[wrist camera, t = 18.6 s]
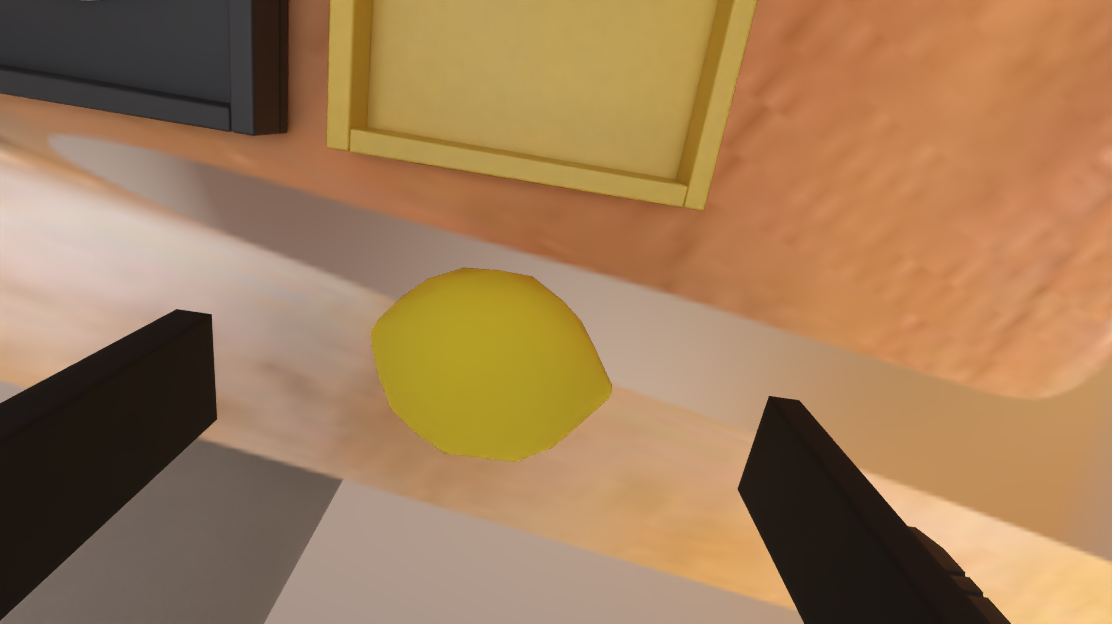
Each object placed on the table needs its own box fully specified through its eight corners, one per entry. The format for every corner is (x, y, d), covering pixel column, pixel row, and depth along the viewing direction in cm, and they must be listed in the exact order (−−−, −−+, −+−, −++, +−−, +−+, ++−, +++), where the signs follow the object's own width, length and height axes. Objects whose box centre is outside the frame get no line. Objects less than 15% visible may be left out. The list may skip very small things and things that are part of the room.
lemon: (379, 371, 19) (318, 468, 14) (414, 220, 17) (358, 265, 12) (575, 423, 20) (586, 532, 14) (627, 283, 18) (660, 351, 13)
